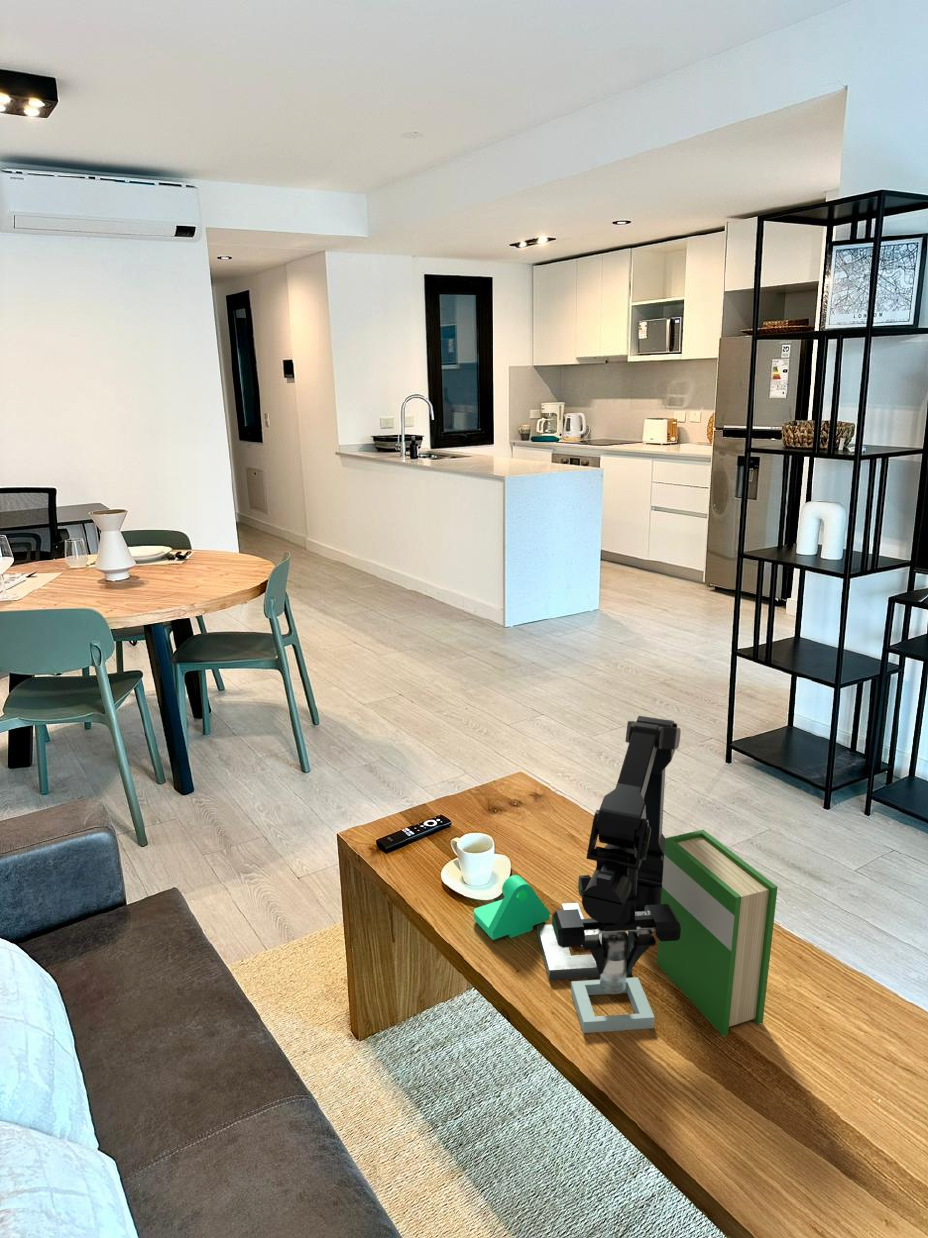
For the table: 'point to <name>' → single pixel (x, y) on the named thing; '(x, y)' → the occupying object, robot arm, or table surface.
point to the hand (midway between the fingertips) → (613, 971)
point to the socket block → (565, 958)
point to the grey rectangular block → (572, 907)
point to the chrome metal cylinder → (614, 962)
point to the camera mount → (512, 911)
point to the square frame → (613, 1022)
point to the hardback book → (717, 929)
